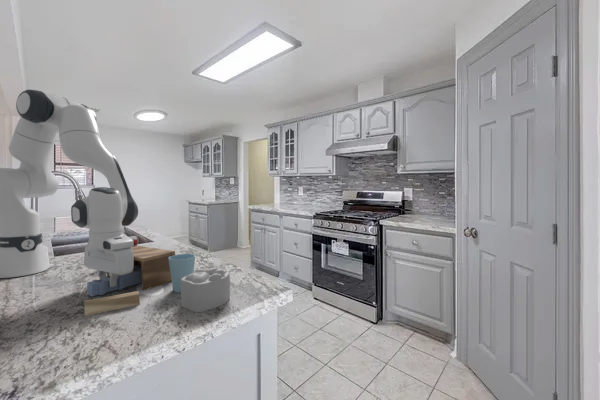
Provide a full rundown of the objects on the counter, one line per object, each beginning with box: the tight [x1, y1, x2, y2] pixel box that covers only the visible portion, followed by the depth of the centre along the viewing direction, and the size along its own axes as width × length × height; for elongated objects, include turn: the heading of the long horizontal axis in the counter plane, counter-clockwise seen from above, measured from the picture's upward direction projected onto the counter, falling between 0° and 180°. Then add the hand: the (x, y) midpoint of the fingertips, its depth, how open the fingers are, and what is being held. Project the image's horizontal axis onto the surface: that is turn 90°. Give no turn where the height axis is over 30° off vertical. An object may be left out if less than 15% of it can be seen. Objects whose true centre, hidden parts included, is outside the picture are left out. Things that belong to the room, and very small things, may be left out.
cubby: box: [106, 245, 176, 291], centre depth 98 cm, size 20×12×10 cm, turn 62°
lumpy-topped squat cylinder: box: [180, 267, 231, 313], centre depth 80 cm, size 10×13×9 cm
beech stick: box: [83, 290, 141, 317], centre depth 76 cm, size 3×12×3 cm, turn 125°
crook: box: [86, 265, 142, 297], centre depth 94 cm, size 10×19×4 cm, turn 149°
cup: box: [168, 253, 196, 294], centre depth 89 cm, size 8×8×10 cm
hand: (108, 285), depth 88 cm, fingers closed on crook, 3 cm apart
